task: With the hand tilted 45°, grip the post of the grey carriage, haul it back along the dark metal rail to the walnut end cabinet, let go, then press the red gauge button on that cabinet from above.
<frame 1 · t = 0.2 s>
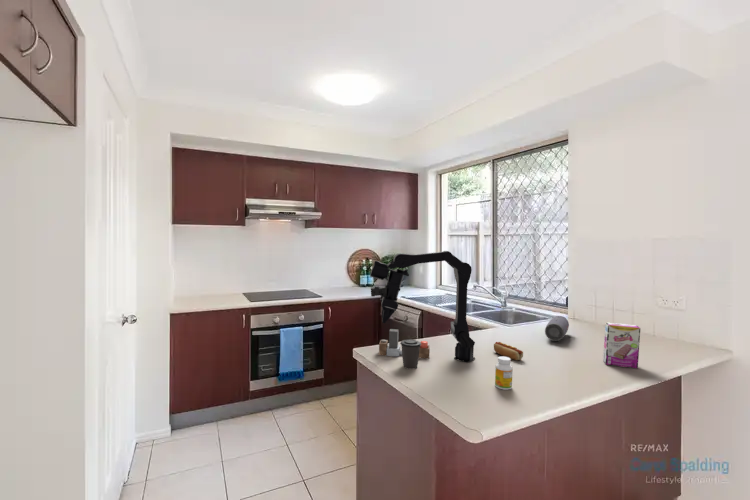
hand: (383, 320, 149), 15 cm above the worktop, tool tilted 15°, fingers open, 9 cm apart
gauge button: (424, 346, 153), point 4 cm above the worktop, slide at 0.0 cm
near cabinet: (423, 356, 153), on the worktop
coffee cup: (410, 366, 141), on the worktop
carriage: (393, 342, 154), point 5 cm above the worktop, slide at 0.0 cm
candy bar box: (620, 365, 147), on the worktop
bluetooth speaker: (557, 338, 185), on the worktop
far cabinet: (383, 353, 155), on the worktop
handrail: (402, 354, 154), on the worktop
food: (507, 357, 155), on the worktop
supplement bottle: (503, 387, 123), on the worktop
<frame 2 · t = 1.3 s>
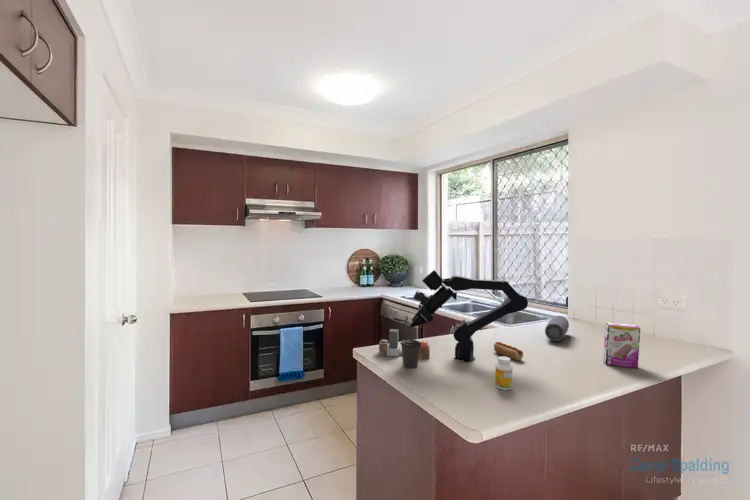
hand: (411, 323, 153), 13 cm above the worktop, tool tilted 45°, fingers open, 9 cm apart
nothing on the worktop moved.
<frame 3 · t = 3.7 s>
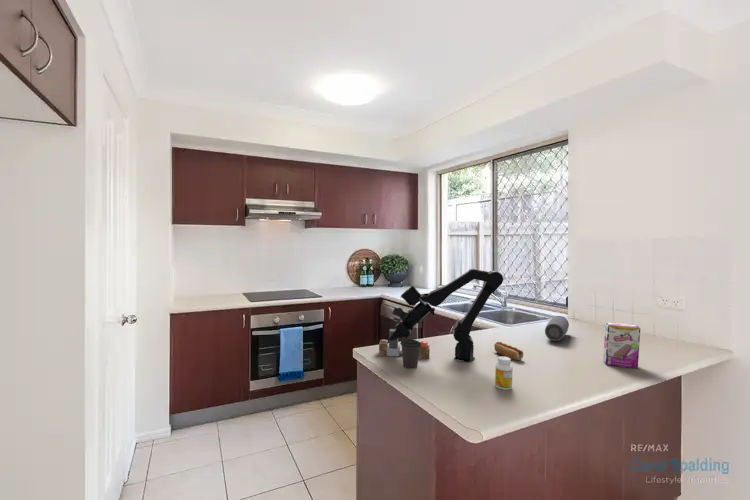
hand: (390, 338, 155), 7 cm above the worktop, tool tilted 45°, fingers closed on carriage, 3 cm apart
carriage: (393, 342, 154), point 5 cm above the worktop, slide at 0.0 cm, touching gripper
everything else where it was.
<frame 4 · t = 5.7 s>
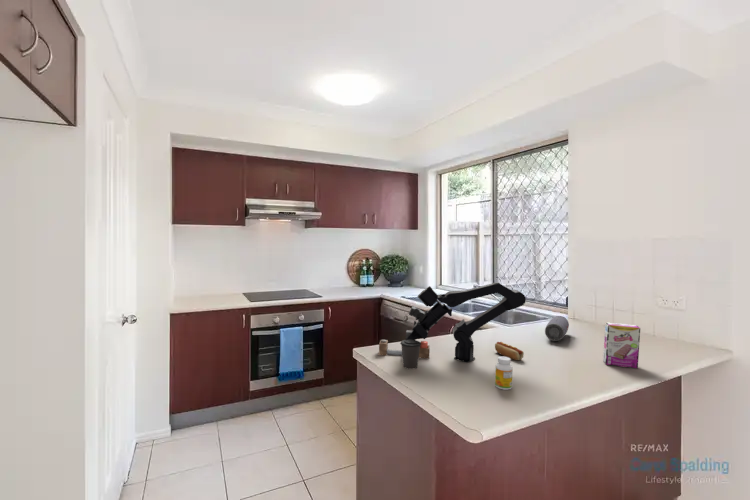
hand: (406, 339, 154), 7 cm above the worktop, tool tilted 45°, fingers closed on carriage, 3 cm apart
carriage: (410, 343, 153), point 5 cm above the worktop, slide at 6.9 cm, touching gripper
everything else where it was.
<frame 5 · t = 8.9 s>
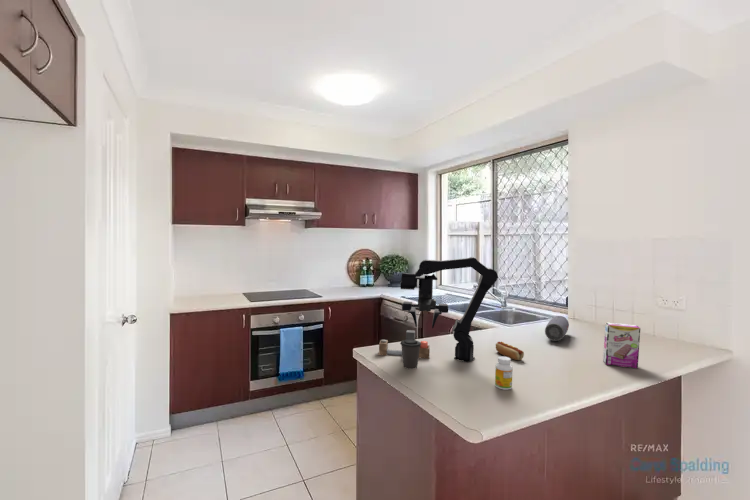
hand: (424, 327, 152), 12 cm above the worktop, tool pointing down, fingers open, 6 cm apart
carriage: (410, 343, 153), point 5 cm above the worktop, slide at 7.0 cm
everything else where it was.
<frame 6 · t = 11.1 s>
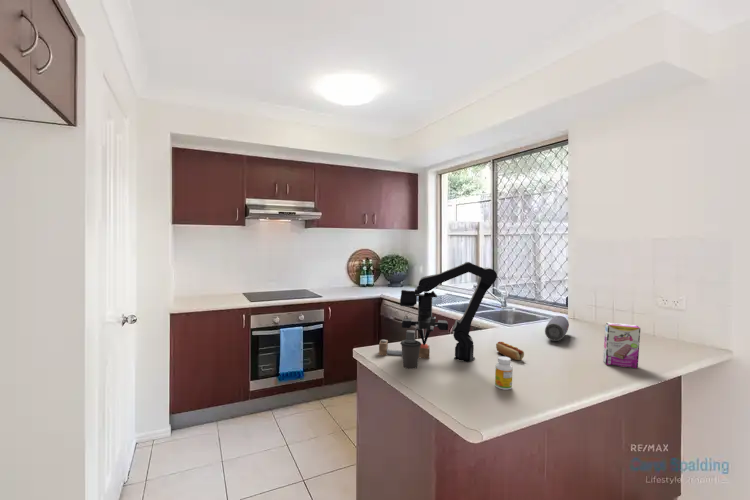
hand: (424, 344, 152), 5 cm above the worktop, tool pointing down, fingers closed, pressing on gauge button
gauge button: (423, 349, 153), point 3 cm above the worktop, slide at 1.1 cm, touching gripper
everything else where it was.
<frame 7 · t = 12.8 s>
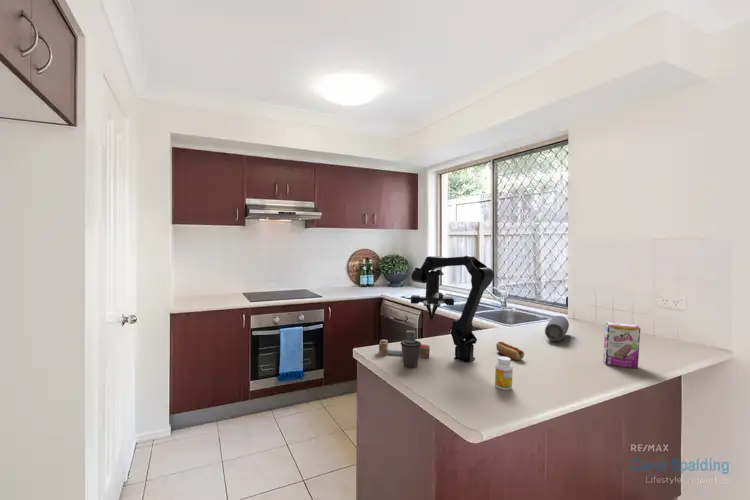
hand: (431, 319, 163), 13 cm above the worktop, tool pointing down, fingers closed
gauge button: (423, 350, 153), point 3 cm above the worktop, slide at 1.3 cm
everything else where it was.
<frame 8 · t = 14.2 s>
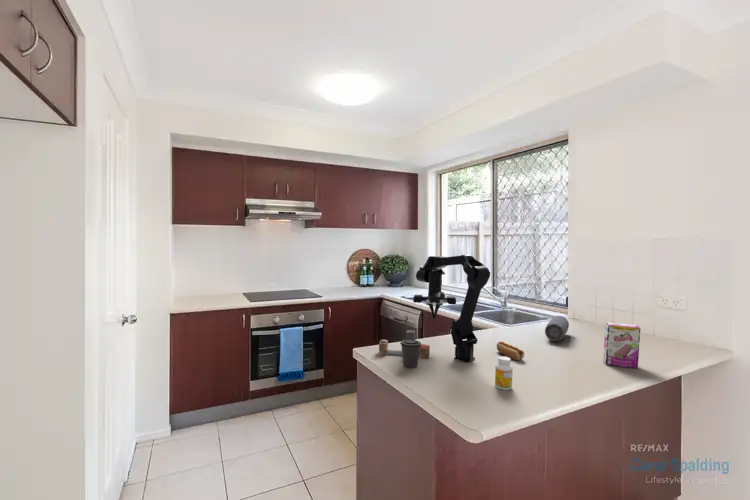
hand: (434, 318, 166), 13 cm above the worktop, tool pointing down, fingers closed
nothing on the worktop moved.
at the end: carriage slide at 7.0 cm; gauge button slide at 1.3 cm; the gripper is holding nothing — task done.
